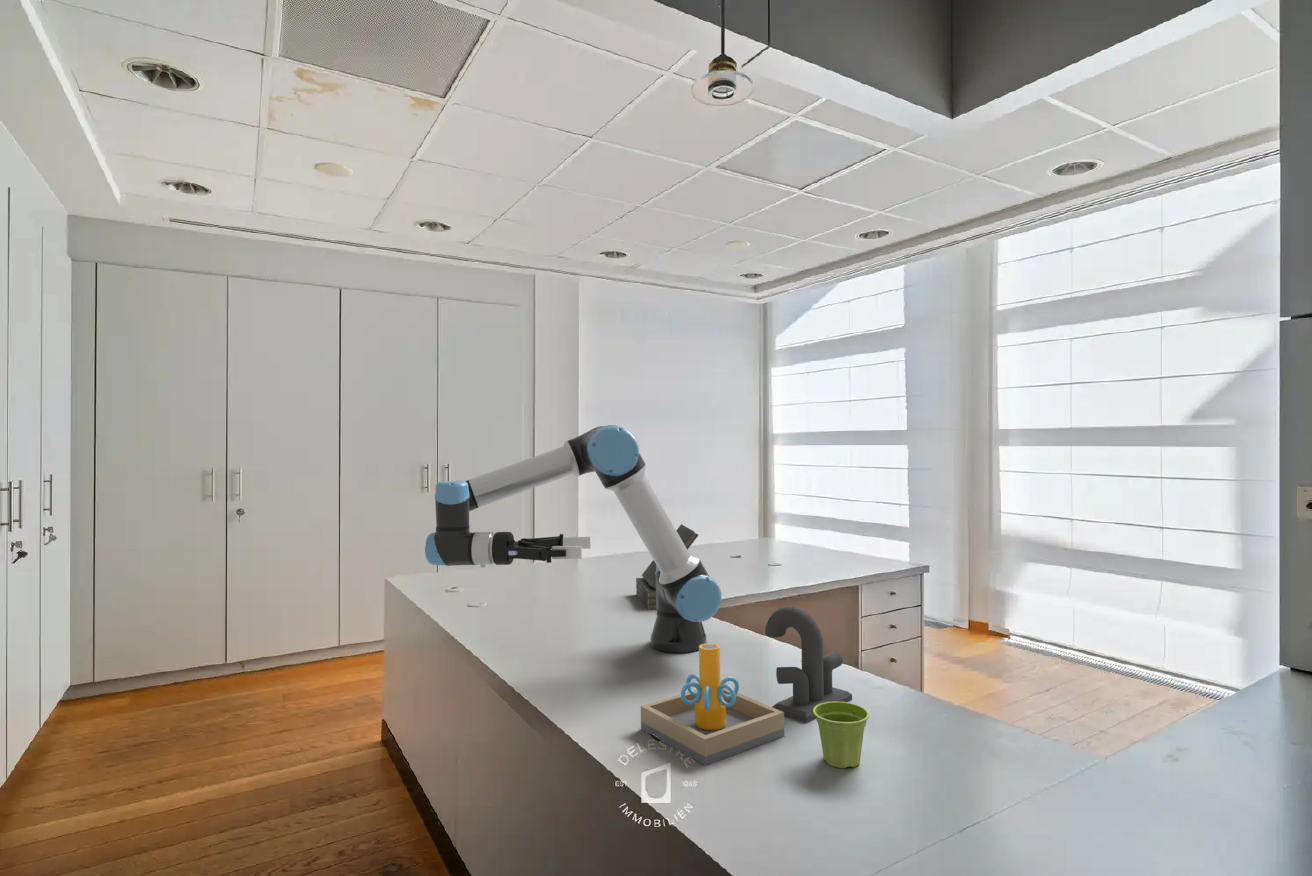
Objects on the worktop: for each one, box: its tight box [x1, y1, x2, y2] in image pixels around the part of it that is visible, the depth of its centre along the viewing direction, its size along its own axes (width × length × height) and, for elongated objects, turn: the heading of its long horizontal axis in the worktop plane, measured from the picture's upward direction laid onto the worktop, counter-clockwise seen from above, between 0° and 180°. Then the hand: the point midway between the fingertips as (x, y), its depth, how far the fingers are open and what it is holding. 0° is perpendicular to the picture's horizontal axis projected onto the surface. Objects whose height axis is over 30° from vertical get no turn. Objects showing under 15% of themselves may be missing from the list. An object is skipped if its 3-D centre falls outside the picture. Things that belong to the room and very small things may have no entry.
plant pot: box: [813, 701, 870, 769], centre depth 125 cm, size 9×9×9 cm
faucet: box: [764, 605, 853, 724], centre depth 154 cm, size 18×16×20 cm
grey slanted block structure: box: [635, 524, 699, 611], centre depth 247 cm, size 23×20×25 cm
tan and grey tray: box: [640, 688, 785, 766], centre depth 138 cm, size 19×19×4 cm
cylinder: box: [680, 643, 740, 730], centre depth 138 cm, size 12×10×15 cm
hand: (586, 547), depth 166 cm, fingers open, 13 cm apart
